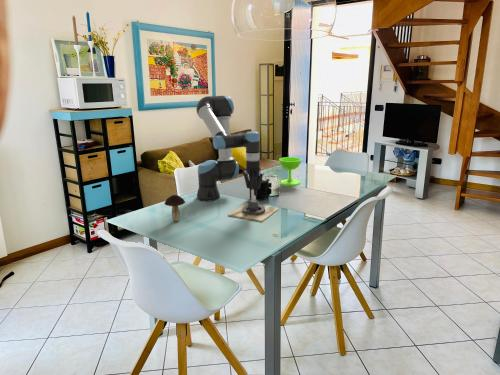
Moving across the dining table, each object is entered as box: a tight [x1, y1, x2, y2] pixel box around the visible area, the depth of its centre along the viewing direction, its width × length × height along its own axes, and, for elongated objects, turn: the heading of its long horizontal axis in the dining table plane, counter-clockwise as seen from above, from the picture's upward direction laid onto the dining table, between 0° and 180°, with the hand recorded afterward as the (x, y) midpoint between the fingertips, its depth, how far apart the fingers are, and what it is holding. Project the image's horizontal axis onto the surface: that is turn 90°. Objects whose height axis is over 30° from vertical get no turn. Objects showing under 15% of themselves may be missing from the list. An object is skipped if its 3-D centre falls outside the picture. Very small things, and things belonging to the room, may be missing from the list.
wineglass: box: [278, 156, 302, 187], centre depth 263 cm, size 16×16×18 cm
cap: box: [247, 199, 260, 212], centre depth 205 cm, size 6×6×6 cm
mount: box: [227, 202, 280, 223], centre depth 207 cm, size 22×22×2 cm
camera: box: [249, 168, 273, 201], centre depth 229 cm, size 10×14×20 cm
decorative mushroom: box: [164, 194, 186, 222], centre depth 194 cm, size 11×11×15 cm
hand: (253, 200), depth 205 cm, fingers closed
